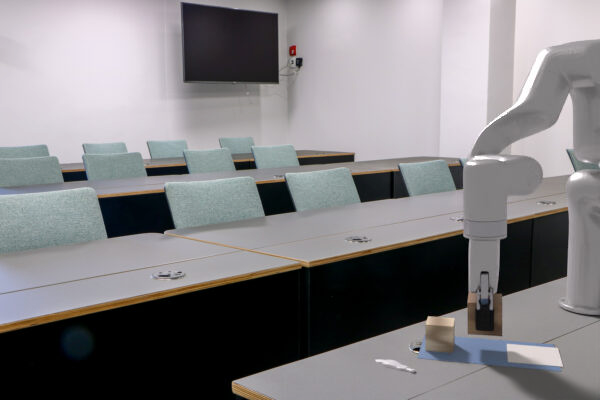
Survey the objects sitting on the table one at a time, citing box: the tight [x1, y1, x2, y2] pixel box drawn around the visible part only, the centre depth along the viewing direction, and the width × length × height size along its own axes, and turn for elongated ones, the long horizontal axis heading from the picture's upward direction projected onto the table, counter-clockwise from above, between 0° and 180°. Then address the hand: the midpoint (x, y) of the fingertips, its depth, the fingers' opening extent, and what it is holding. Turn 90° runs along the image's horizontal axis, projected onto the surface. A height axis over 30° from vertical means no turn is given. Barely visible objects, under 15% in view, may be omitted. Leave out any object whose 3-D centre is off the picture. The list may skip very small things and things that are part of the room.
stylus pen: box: [374, 358, 416, 373], centre depth 112 cm, size 15×3×2 cm, turn 44°
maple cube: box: [424, 315, 456, 353], centre depth 117 cm, size 5×5×5 cm
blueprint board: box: [417, 334, 564, 372], centre depth 115 cm, size 24×13×1 cm, turn 73°
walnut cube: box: [466, 292, 503, 337], centre depth 115 cm, size 6×6×6 cm
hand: (485, 322), depth 115 cm, fingers closed on walnut cube, 6 cm apart
